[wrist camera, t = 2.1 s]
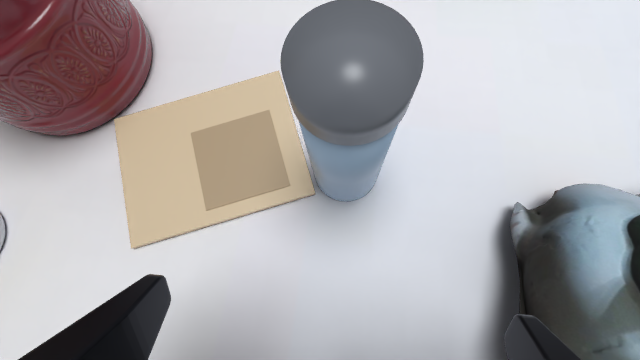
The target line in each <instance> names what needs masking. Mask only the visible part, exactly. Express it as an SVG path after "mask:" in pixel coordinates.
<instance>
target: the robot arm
mask: <svg viewBox="0 0 640 360" xmlns="http://www.w3.org/2000/svg"><path fill="white" fill-rule="evenodd" d="M170 302H171V295H170V291H169V288H168V285H167V281H166V278H165V277H164V276H162V275H154V274H149V275H146V276H145V277H143V278H141V279H140V280H138V281H137V282H135V283H134V284H132V285H131V286H129V287H128V288H126V289H125V290H123V291H122V292H120V293H119V294H117V295H116V296H114V297H113V298H111V299H110V300H108V301H106V302H105V303H103V304H102V305H100V306H99V307H97V308H96V309H94V310H93V311H91V312H90V313H88V314H87V315H85V316H84V317H82V318H81V319H79V320H78V321H76V322H75V323H73V324H72V325H70V326H68V327H67V328H65V329H64V330H62V331H61V332H59V333H58V334H56V335H55V336H53V337H52V338H50V339H49V340H47V341H46V342H44V343H43V344H41V345H40V346H38V347H37V348H35V349H34V350H32V351H30V352H29V353H27V354H26V355H24V356H23V357H21V358H20V359H18V360H148V358H149V355H150V353H151V351H152V348H153V346H154V343H155V341H156V338H157V336H158V333H159V331H160V328H161V326H162V323H163V321H164V318H165V316H166V313H167V311H168V308H169V306H170ZM504 343H505V348H506V353H507V357H508V360H581V359H580V358H579V357H578V356H577V355H576V354H575V353H574V352H573V351H572V350H571V349H570V348H569V347H567V346H566V345H565V344H564V343H563V342H562V341H561V340H560V339H559V338H558V337H557V336H556V335H555V334H554V333H552V332H551V331H550V330H549V329H548V328H547V327H546V326H545V325H544V324H543V323H542V322H541V321H540V320H539V319H537V318H536V317H534V316H532V315H524V314H516V315H515V316H514V317H513V319H512V321H511V323H510V325H509V327H508V329H507V331H506V333H505V336H504Z"/></svg>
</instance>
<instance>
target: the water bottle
mask: <svg viewBox="0 0 640 360" xmlns="http://www.w3.org/2000/svg"><path fill="white" fill-rule="evenodd" d="M422 69H423V50H422V45H421V42H420V39H419V37H418V35H417V33H416V31H415V29H414V28H413V27H412V25H411V24H410V23H409V22H408V21H407V20H406V19H405V18H404V17H403V16H402V15H401V14H400V13H398V12H397V11H395V10H394V9H392V8H390V7H388V6H386V5H384V4H382V3H378V2H375V1H371V0H335V1H331V2H328V3H325V4H322V5H320V6H318V7H316V8H314V9H313V10H311V11H309V12H308V13H307V14H305V15H304V16H303V17H302V18H300V19H299V21H298V22H297V23H296V24H295V25H294V26H293V27H292V29H291V30H290V32H289V34H288V35H287V37H286V39H285V42H284V45H283V48H282V53H281V71H282V75H283V79H284V82H285V85H286V89H287V92H288V95H289V99H290V102H291V105H292V108H293V111H294V113H295V115H296V117H297V119H298V120H299V123H300V127H301V130H302V134H303V137H304V141H305V144H306V147H307V151H308V154H309V158H310V161H311V165H312V168H313V172H314V175H315V179H316V182H317V184H318V186H319V187H320V189H321V190H322V191H323V192H324V193H325V194H326V195H327V196H329V197H330V198H332V199H335V200H338V201H354V200H357V199H360V198H362V197H363V196H365V195H366V194H367V193H368V192H369V191H370V190H371V189H372V187H373V186H374V184H375V182H376V179H377V177H378V174H379V172H380V169H381V167H382V164H383V161H384V159H385V156H386V154H387V151H388V149H389V146H390V144H391V141H392V139H393V136H394V134H395V131H396V129H397V126H398V124H399V122H400V121H401V120H402V118H403V117H404V115H405V113H406V111H407V108H408V106H409V104H410V101H411V99H412V96H413V94H414V92H415V89H416V87H417V84H418V82H419V79H420V77H421V73H422Z"/></svg>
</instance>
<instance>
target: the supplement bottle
mask: <svg viewBox="0 0 640 360" xmlns="http://www.w3.org/2000/svg"><path fill="white" fill-rule="evenodd" d="M4 238H5V224H4V220H3V218H2V216H1V215H0V249H1V247H2V245H3V242H4Z"/></svg>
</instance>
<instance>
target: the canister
mask: <svg viewBox="0 0 640 360" xmlns="http://www.w3.org/2000/svg"><path fill="white" fill-rule="evenodd" d="M151 59H152V46H151V40H150V36H149V33H148V31H147V29H146V27H145V25H144V23H143V20H142V18H141V16H140V14H139V13H138V11H137V10H136V8H135V7H134V6H133V5H132V3H131V2H130V0H0V120H1V121H3V122H6V123H8V124H11V125H13V126H15V127H18V128H21V129H24V130H28V131H33V132H39V133H42V134H47V135H59V136H61V135H72V134H78V133H82V132H85V131H88V130H91V129H93V128H96V127H98V126H100V125H102V124H104V123H106V122H107V121H109V120H111V119H112V118H114V117H115V116H116V115H118V114H119V113H120V112H121V111H122V110H124V109H125V108H126V107H127V106H128V105H129V104H130V103H131V101H132V100H133V99H134V98H135V96H136V95H137V94H138V92H139V91H140V89H141V88H142V86H143V84H144V82H145V80H146V78H147V75H148V72H149V69H150V65H151Z"/></svg>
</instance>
